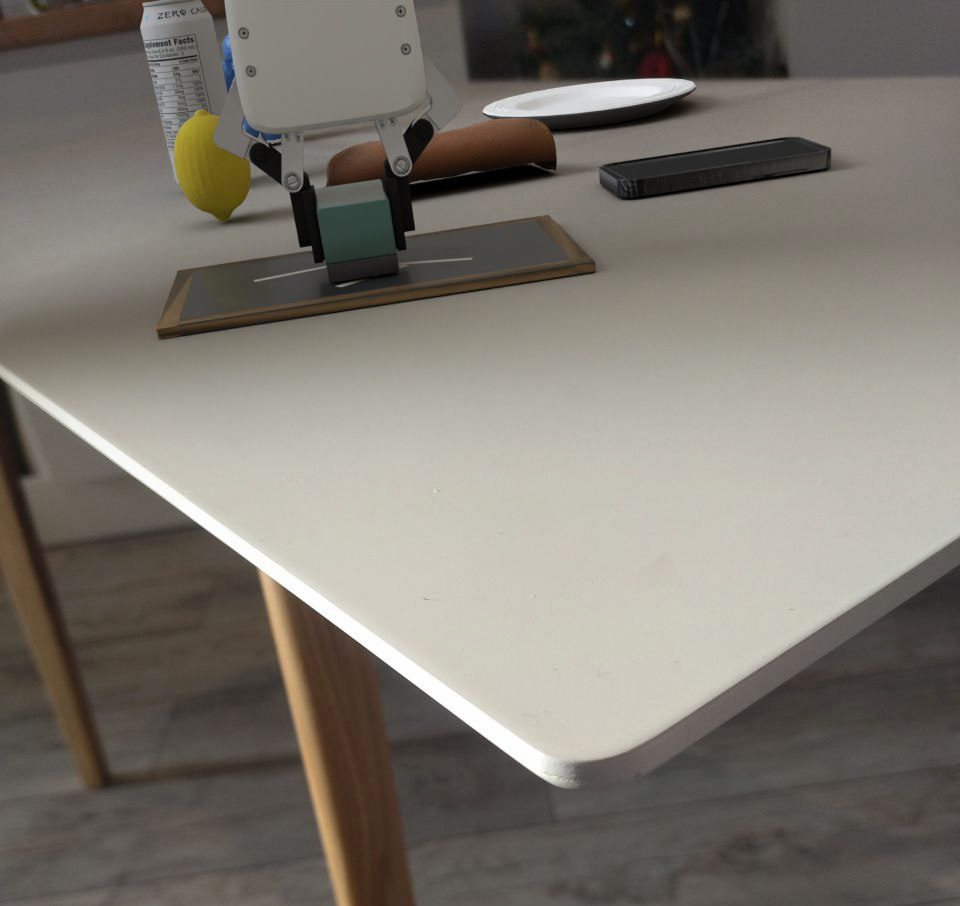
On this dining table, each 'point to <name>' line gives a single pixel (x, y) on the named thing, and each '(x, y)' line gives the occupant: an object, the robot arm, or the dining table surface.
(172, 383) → the dining table surface
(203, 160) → the lemon
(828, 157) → the phone
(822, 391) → the dining table surface
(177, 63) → the energy drink can
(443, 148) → the sunglasses case
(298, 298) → the slate board
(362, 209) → the eraser
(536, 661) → the dining table surface
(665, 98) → the plate
